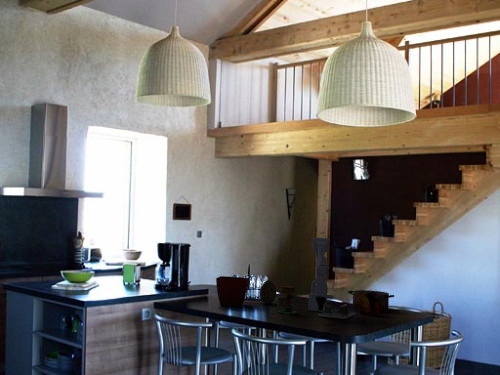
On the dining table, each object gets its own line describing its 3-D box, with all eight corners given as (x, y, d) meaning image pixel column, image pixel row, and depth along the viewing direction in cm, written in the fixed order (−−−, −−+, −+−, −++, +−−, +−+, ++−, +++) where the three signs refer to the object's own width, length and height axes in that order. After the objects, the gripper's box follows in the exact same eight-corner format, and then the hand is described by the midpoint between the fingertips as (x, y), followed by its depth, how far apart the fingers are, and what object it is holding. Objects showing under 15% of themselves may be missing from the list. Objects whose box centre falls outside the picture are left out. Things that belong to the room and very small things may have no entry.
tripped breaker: (324, 313, 364) (324, 306, 364) (326, 312, 368) (327, 305, 368) (328, 314, 363) (329, 306, 363) (331, 313, 366) (331, 306, 367)
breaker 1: (338, 313, 368) (338, 306, 368) (340, 312, 371) (340, 305, 372) (342, 313, 367) (342, 306, 367) (344, 313, 370) (344, 305, 370)
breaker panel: (318, 316, 363) (318, 312, 364) (330, 311, 383) (330, 308, 383) (345, 318, 357) (345, 315, 357) (356, 314, 376) (356, 310, 377)
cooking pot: (340, 308, 401) (341, 291, 402) (355, 305, 420) (356, 288, 420) (386, 314, 385) (386, 296, 385) (399, 310, 403) (400, 293, 404)
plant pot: (249, 304, 402) (250, 277, 403) (245, 308, 383) (247, 280, 384) (219, 302, 404) (220, 275, 405) (214, 306, 385) (215, 278, 386)
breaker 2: (342, 312, 374) (342, 304, 374) (344, 311, 378) (344, 304, 378) (346, 312, 373) (346, 305, 373) (348, 311, 377) (348, 304, 377)
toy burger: (301, 312, 374) (302, 287, 375) (291, 314, 364) (292, 288, 365) (284, 310, 381) (285, 285, 382) (273, 312, 371) (274, 286, 371)
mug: (378, 316, 372) (379, 295, 373) (356, 313, 380) (357, 293, 380) (384, 314, 380) (385, 294, 380) (363, 312, 388) (363, 292, 388)
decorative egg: (270, 305, 401) (271, 281, 402) (256, 303, 407) (257, 279, 407) (279, 303, 410) (280, 280, 411) (264, 301, 416) (265, 278, 417)
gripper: (307, 286, 367) (306, 310, 367) (331, 288, 361) (330, 312, 360) (311, 285, 374) (310, 308, 373) (335, 287, 367) (334, 311, 367)
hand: (320, 310), depth 367 cm, fingers closed
